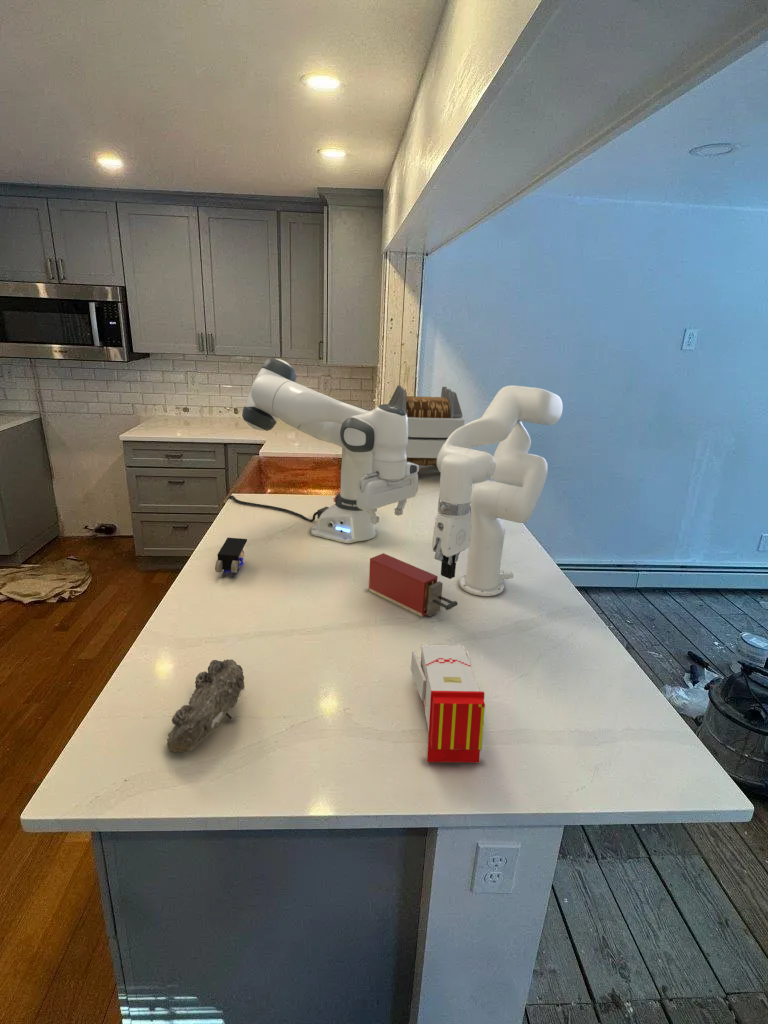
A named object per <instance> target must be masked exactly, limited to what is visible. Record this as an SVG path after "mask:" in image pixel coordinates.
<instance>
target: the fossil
mask: <svg viewBox="0 0 768 1024" xmlns="http://www.w3.org/2000/svg"><path fill="white" fill-rule="evenodd" d="M243 670H244V669H243V667H242V665H240V664H237V662H236V661H235V660H234V659H232V658H231V659H227V658H226V659H224V660H223V661H222V660H217V659H212V660H211V661H210V663H209V665H208V666H207V671H201V672H199V673H198V674H197V675H196V676H195V680H194V684H195V685H194V687H195V689H194V690H193V693H192V694H191V697H190V698H189V700H188V704H184V705H182V706H181V707H180V709H177V710H176V711H175V713H174V715H173V716H172V718H171V723H172V724H173V727H172V730H171V731H170V732H168V734H167V738H166V741H167V742H166V745H167V749H168V750H169V751H173V752H174V753H176V754H178V753H182V752H188V751H189V752H192V751H193V750H195V748H196V747H197V746H199V744H200V743H201V742H203V741H204V740H205V739H206V738H207V737H208V736H209V735H210V734H211V733H212V732H214V730H215V729H217V727H218V726H219V724H220V722H221V721H222V720H223V719H224V718H225V716H226V717H227V719H229V720H233V717H232V715H230V714H229V710H230V709H231V708H234V706H235V704H236V703H237V702H238V699H239V697H240V695H241V693H242V691H243V690H245V689H244V688H245V675H244V671H243Z"/></svg>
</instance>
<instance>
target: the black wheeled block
mask: <svg viewBox="0 0 768 1024" xmlns="http://www.w3.org/2000/svg"><path fill="white" fill-rule="evenodd" d="M247 542H248V538H240V537H226V539H225V541H224V543H223V544H222V546H221V547H220V549H219V551H218V552H217V560H216V562H215V564H214V572H215V573H221V577H222V578H224V577H225V576H226V574H227V573H230V574H231V573H232V574H231V578H234V577H235V575H236V573H237V572H239V571H240V567H242V566H243V565H244V564H245V562H244V558H245V551H244V547H245V546H246V544H247Z"/></svg>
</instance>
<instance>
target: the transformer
mask: <svg viewBox="0 0 768 1024" xmlns="http://www.w3.org/2000/svg"><path fill="white" fill-rule="evenodd" d="M440 393H441V394H440V396H415V395H414V396H413V395H412V396H411V395H407V394H408V393H407V390H406V389H404V388H403V387H402V385H399V384H398V385H397V386H396V388H395V390H394V392H393V394H392V395H391V398H390V400H389V402H388V404H389V405H395V406H398V407H400V408H402V409H403V410H404V411H405V412H406V414H407V418H408V443H407V446H406V455H407V461H408V462H411V463H414V464H417V465H419V467H437V457H438V454H439V451H440V450H441V448H442V446H443V444H444V443H445V442H446V440H447V439H448V437H449V436H450V435H451V433H453V432H454V431H455V430H456V429H458V428H460V427H462V426H464V425H465V419H464V418H463V411H462V408H461V405H460V402H459V398H458V395H457V392H455V391H453V390H452V389H451V388H447V386H442V387H441V392H440Z"/></svg>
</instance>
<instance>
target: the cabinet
mask: <svg viewBox="0 0 768 1024" xmlns="http://www.w3.org/2000/svg"><path fill="white" fill-rule="evenodd" d="M438 578H439V577H438V575H436V574H434V573H431V572H429V571H426V570H424V569H421V568H419V567H417V566H415V565H412V564H410V563H408V562H405V561H403V560H401V559H398V558H396V557H394V556H391V555H389V554H386V553H385V552H383V553H381V554H377V555H375V556H372V557H370V558H369V572H368V591H369V592H370V593H372V594H374V595H376V596H379V597H380V598H383V599H384V600H386V601H389V602H390V603H392V604H395V605H397V606H398V607H400V608H403V609H405V610H407V611H408V612H411V613H412V614H415V615H417V616H420V617H421V618H423V617H424V616H427V610H426V611H424V601H425V588H426V584H427V583H429V582H431V581H434V584H435V583H437V582H438Z"/></svg>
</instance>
